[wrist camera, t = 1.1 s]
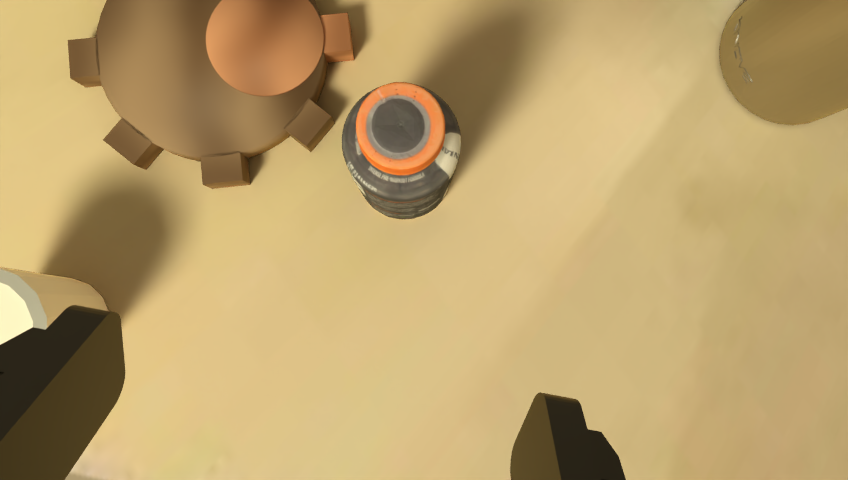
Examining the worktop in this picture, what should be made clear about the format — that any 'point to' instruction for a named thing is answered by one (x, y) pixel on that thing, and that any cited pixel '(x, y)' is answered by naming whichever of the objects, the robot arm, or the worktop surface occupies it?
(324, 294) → the worktop surface
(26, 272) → the white cylinder
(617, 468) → the robot arm
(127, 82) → the sprocket
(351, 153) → the pill bottle
